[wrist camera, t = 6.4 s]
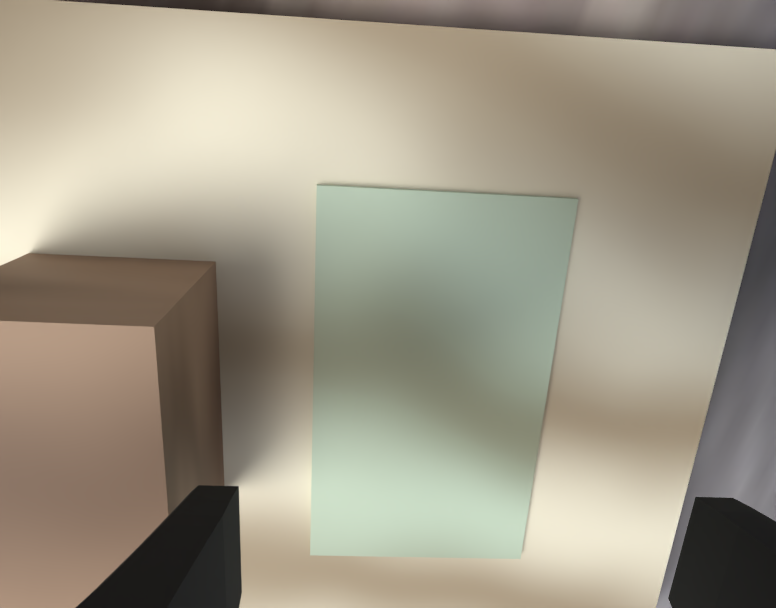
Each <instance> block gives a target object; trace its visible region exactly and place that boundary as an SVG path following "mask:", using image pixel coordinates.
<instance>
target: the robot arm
mask: <svg viewBox="0 0 776 608" xmlns="http://www.w3.org/2000/svg"><path fill="white" fill-rule="evenodd" d="M241 594H242V579H241V545H240V511H239V486H210V485H198V486H197V487H196V488H195V489H193V490H192V491H191V492H190V493H189V494H188V495H187V496H186V497H185V498H184V500H183V501H182V502H181V503H180V504H179V505H178V506H177V507H176V508H175V509H174V510H173V511H172V512H171V513H170V514H169V515H168V517H167V518H166V519H165V520H164V521H163V522H162V523H161V524H160V525H159V526H158V527H157V528H156V529H155V530H154V531H153V532H152V533H151V534H150V535H149V536H148V537H147V538H146V539H145V541H144V542H143V543H142V544H141V545H140V546H139V547H138V548H137V549H136V550H135V551H134V552H133V553H132V554H131V555H130V556H129V557H128V558H127V559H126V560H125V561H124V562H123V563H122V564H121V565H120V566H119V567H118V568H117V569H115V570H114V571H113V572H112V573H111V574H110V575H109V576H108V577H107V578H106V579H105V580H104V581H103V582H102V583H101V584H100V585H99V586H98V587H97V588H96V589H95V590H94V591H93V592H92V593H91V594H90V595H89V596H88V597H87V598H86V599H84V600H83V601H82V602H81V603H80V604H79V605H78V606H77V607H76V608H239V605H240V600H241ZM669 601H670V603H671V606H672V608H776V522H775V521H774V520H772V519H770V518H769V517H767V516H765V515H763V514H762V513H760V512H758V511H756V510H755V509H753V508H751V507H749V506H747V505H745V504H743V503H741V502H740V501H738V500H736V499H734V498H712V497H696V498H695V501H694V505H693V509H692V513H691V516H690V520H689V524H688V527H687V531H686V535H685V539H684V542H683V546H682V550H681V553H680V557H679V561H678V564H677V568H676V572H675V576H674V579H673V583H672V587H671V590H670V594H669Z"/></svg>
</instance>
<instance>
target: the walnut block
mask: <svg viewBox="0 0 776 608" xmlns="http://www.w3.org/2000/svg"><path fill="white" fill-rule="evenodd" d="M198 485H210V486H224V461H223V435H222V410H221V384H220V358H219V333H218V307H217V281H216V262H215V261H193V260H171V259H148V258H126V257H104V256H81V255H59V254H37V253H28V254H26V255H23V256H21V257H19V258H17V259H14V260H12V261H10V262H8V263H5V264H3V265H1V266H0V608H76V607H77V606H78V605H79V604H80V603H81V602H82V601H83V600H84V599H86V598H87V597H88V596H89V595H90V594H91V593H92V592H93V591H94V590H95V589H96V588H97V587H98V586H99V585H100V584H101V583H102V582H103V581H104V580H105V579H106V578H107V577H108V576H109V575H110V574H111V573H112V572H113V571H114V570H115V569H117V568H118V567H119V566H120V565H121V564H122V563H123V562H124V561H125V560H126V559H127V558H128V557H129V556H130V555H131V554H132V553H133V552H134V551H135V550H136V549H137V548H138V547H139V546H140V545H141V544H142V543H143V542H144V541H145V539H146V538H147V537H148V536H149V535H150V534H151V533H152V532H153V531H154V530H155V529H156V528H157V527H158V526H159V525H160V524H161V523H162V522H163V521H164V520H165V519H166V518H167V517H168V515H169V514H170V513H171V512H172V511H173V510H174V509H175V508H176V507H177V506H178V505H179V504H180V503H181V502H182V501H183V500H184V498H185V497H186V496H187V495H188V494H189V493H190V492H191V491H192V490H193V489H195V488H196V487H197V486H198Z"/></svg>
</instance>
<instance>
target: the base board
mask: <svg viewBox="0 0 776 608" xmlns="http://www.w3.org/2000/svg"><path fill="white" fill-rule="evenodd" d="M775 151H776V49H761V48H747V47H732V46H717V45H703V44H688V43H673V42H659V41H644V40H629V39H615V38H600V37H585V36H571V35H556V34H541V33H527V32H512V31H497V30H483V29H468V28H453V27H439V26H424V25H409V24H395V23H380V22H365V21H351V20H336V19H321V18H306V17H292V16H277V15H262V14H248V13H233V12H218V11H204V10H189V9H174V8H160V7H145V6H130V5H116V4H101V3H86V2H72V1H57V0H0V266H1V265H3V264H5V263H8V262H10V261H12V260H14V259H17V258H19V257H21V256H23V255H26V254H28V253H37V254H59V255H81V256H104V257H126V258H148V259H171V260H193V261H215V262H216V281H217V307H218V333H219V358H220V384H221V410H222V435H223V461H224V486H239V511H240V545H241V579H242V594H241V600H240V605H239V608H656V605H657V601H658V597H659V593H660V590H661V586H662V582H663V578H664V574H665V570H666V567H667V563H668V559H669V555H670V551H671V548H672V544H673V540H674V536H675V532H676V529H677V525H678V521H679V517H680V513H681V509H682V506H683V502H684V498H685V494H686V490H687V487H688V483H689V479H690V475H691V471H692V468H693V464H694V460H695V456H696V452H697V448H698V445H699V441H700V437H701V433H702V429H703V426H704V422H705V418H706V414H707V410H708V407H709V403H710V399H711V395H712V391H713V387H714V384H715V380H716V376H717V372H718V368H719V365H720V361H721V357H722V353H723V349H724V346H725V342H726V338H727V334H728V330H729V326H730V323H731V319H732V315H733V311H734V307H735V304H736V300H737V296H738V292H739V288H740V285H741V281H742V277H743V273H744V269H745V265H746V262H747V258H748V254H749V250H750V246H751V243H752V239H753V235H754V231H755V227H756V224H757V220H758V216H759V212H760V208H761V204H762V201H763V197H764V193H765V189H766V185H767V182H768V178H769V174H770V170H771V166H772V163H773V159H774V155H775Z"/></svg>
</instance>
